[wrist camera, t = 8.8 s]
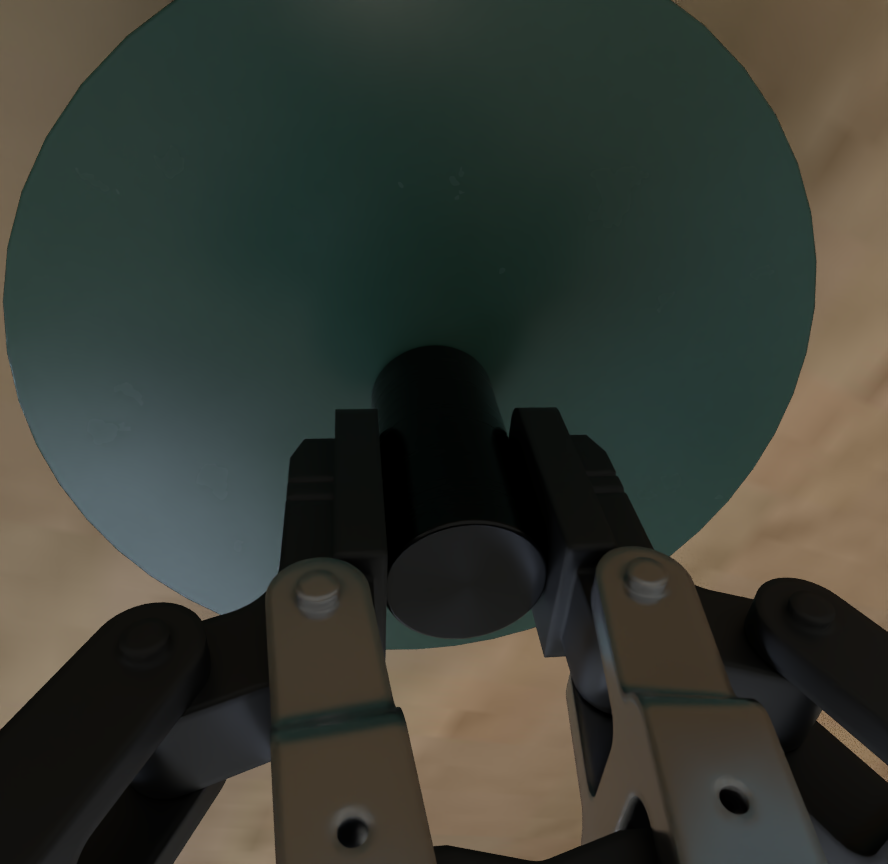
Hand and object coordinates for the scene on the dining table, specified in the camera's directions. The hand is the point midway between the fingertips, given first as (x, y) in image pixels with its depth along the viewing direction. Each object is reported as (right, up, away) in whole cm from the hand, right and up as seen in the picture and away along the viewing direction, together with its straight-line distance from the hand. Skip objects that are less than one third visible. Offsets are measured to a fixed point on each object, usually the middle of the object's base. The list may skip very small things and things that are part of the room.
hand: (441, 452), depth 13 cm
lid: (0, +1, +2) cm, 2 cm away
